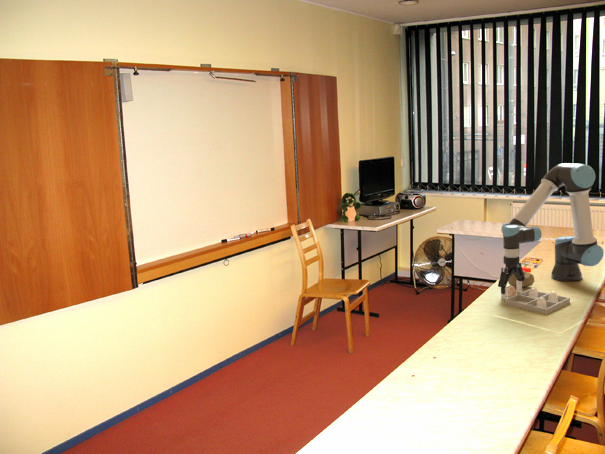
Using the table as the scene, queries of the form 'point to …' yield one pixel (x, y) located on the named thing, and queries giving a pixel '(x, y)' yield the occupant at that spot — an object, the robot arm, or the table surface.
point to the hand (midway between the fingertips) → (511, 296)
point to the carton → (531, 303)
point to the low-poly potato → (527, 281)
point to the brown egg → (511, 291)
